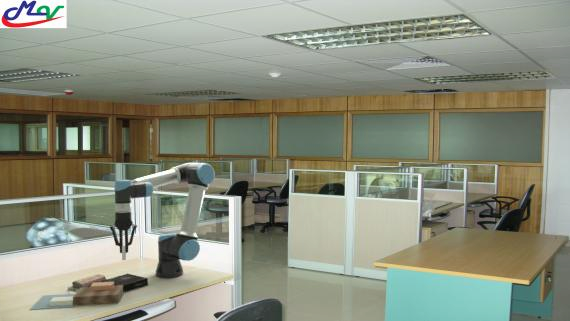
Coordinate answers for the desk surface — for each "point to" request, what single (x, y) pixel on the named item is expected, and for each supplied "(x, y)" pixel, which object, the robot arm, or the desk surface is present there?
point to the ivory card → (61, 301)
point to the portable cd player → (128, 281)
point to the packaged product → (86, 282)
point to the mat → (45, 302)
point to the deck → (97, 296)
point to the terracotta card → (102, 286)
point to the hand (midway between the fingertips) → (124, 259)
